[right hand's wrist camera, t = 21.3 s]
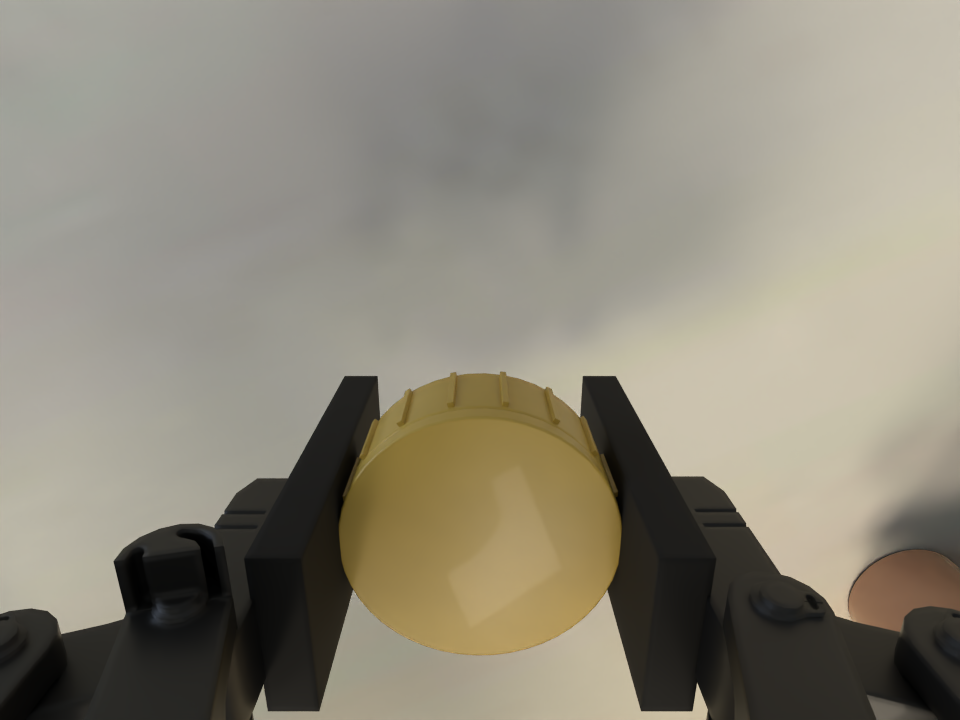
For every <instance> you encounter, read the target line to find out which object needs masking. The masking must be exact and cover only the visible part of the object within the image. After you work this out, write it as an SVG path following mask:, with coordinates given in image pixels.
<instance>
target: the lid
mask: <svg viewBox="0 0 960 720" xmlns="http://www.w3.org/2000/svg"><path fill="white" fill-rule="evenodd" d="M616 497H618V490H617V488H616V485H615V483H614V480H613V477H612V475H611V472H610V469H609V467H608V464H607V462H606V459H605V456H604V454H599V452H598V449H597V447H596V444H595V442H594V439H593V437H592V434H591V431H590V429H589V426H588V423H587V420H586V419H585V417H584V416H582V417H580V418H579V417H578V415H577V414H576V413H575V412H574V411H573V410H572V409H571V408H570V407H569V406H568V405H566V404H565V403H564V402H563V401H562V400H560V399H559V398H558V397H556V396H555V395H553V392H552V389H550V388H549V387H546V389H543V388H541V387H539V386H537V385H535V384H532V383H529V382H526V381H524V380H521V379H518V378H513V377H509V376H506V372H500V375H496V374H486V373H483V374H464V375H457V374H456V372H454V373H450V377H447V378H444V379H440V380H436V381H434V382H431V383H429V384H426V385H424V386H422V387H419V388H418V389H416V390H414V391H411V389H408V390H407V391H405V395H404V397H403V398H402V399H400V400H399V401H398V402H396V403H395V404H394V405H393V406H392V407H391V408H390V409H389V410H388V411H387V412H386V413H385V414H384V415H383V416H382V417H381V418H380V420H379V421H378V420H376V419H374V421H373V422H372V424H371V427H370V430H369V432H368V435H367V438H366V440H365V443H364V446H363V448H362V451H361V454H360V457H359V458H358V457H357V459H356V462H355V464H354V467H353V470H352V472H351V475H350V478H349V480H348V483H347V486H346V488H345V491H344V494H343V501H344V503H343V505H342V508H341V513H340V519H339V539H340V550H341V560H342V564H343V568H344V571H345V574H346V576H347V578H348V580H349V582H350V585H351V586H352V588H353V590H354V591H355V593H356V594H357V596H358V597H359V599H360V600H361V601H362V603H363V604H364V605H365V606H366V607H367V608H368V610H369V611H370V612H371V613H372V614H373V615H375V616H376V617H377V618H378V619H379V620H380V621H381V622H382V623H384V624H385V625H387V626H388V627H389V628H391V629H392V630H394V631H395V632H397V633H399V634H400V635H402V636H404V637H406V638H408V639H409V640H412V641H414V642H417V643H419V644H421V645H424V646H427V647H430V648H434V649H437V650H440V651H445V652H451V653H456V654H466V655H496V654H504V653H511V652H515V651H520V650H524V649H528V648H530V647H533V646H536V645H539V644H542V643H544V642H546V641H548V640H551V639H553V638H555V637H557V636H559V635H560V634H562V633H564V632H565V631H567V630H568V629H570V628H572V627H573V626H574V625H575V624H577V623H578V622H579V621H580V620H582V619H583V618H584V617H585V616H586V615H587V614H588V613H589V612H590V611H591V610H592V609H593V608H594V607H595V606H596V605H597V603H598V602H599V601H600V599H601V598H602V597H603V595H604V594H605V592H606V591H607V589H608V587H609V585H610V583H611V582H612V580H613V577H614V575H615V572H616V569H617V567H618V563H619V554H620V544H621V532H622V520H621V515H620V511H619V507H618V503H617V500H616Z"/></svg>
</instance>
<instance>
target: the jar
mask: <svg viewBox="0 0 960 720" xmlns="http://www.w3.org/2000/svg"><path fill="white" fill-rule="evenodd" d="M848 606H849V613H850V616H851V619H852V621H854V622H858V623H862V624H867V625H871V626H876V627H880V628H885V629H889V630H894V631H898V632H900V630H901V627H902V623H903V620H904V617H905V616H906V615H907V614H908V613H909V612H910V611H912V610H913V609H915V608H921V607H927V606H934V607H942V608H950V609H954V610H957V611H960V568H959V567H958V566H957V565H956V564H954V563H953V562H952V561H951V560H950V559H948V558H947V557H945V556H943V555H941V554H939V553H936V552H933V551H929V550H920V549H916V550H906V551H901V552H897V553H894V554H891V555H888V556H886V557H884V558H882V559H880V560H879V561H877V562H875V563H874V564H873V565H871V566H870V567H869V568H868V569H866V570H865V571H864V572H863V573H862V574H861V576H860V577H859V578H858V579H857V581H856V582H855V584H854V586H853V588H852V590H851V593H850V597H849V605H848Z"/></svg>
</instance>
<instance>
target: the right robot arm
mask: <svg viewBox="0 0 960 720" xmlns="http://www.w3.org/2000/svg"><path fill="white" fill-rule="evenodd" d="M582 416H584V417H585V419H586V420H587V423H588V426H589V429H590V431H591V434H592V437H593V439H594V442H595V444H596V447H597V449H598V452H599V454H604V456H605V459H606V462H607V464H608V467H609V469H610V472H611V475H612V477H613V480H614V483H615V485H616V488H617V490H618V497H616V500H617V503H618V507H619V511H620V515H621V520H622V532H621V544H620V554H619V563H618V567H617V569H616V572H615V575H614V577H613V580H612V582H611V583H610V585H609V587H608V589H607V590H608V593H609V597H610V601H611V604H612V608H613V611H614V615H615V619H616V622H617V626H618V629H619V633H620V637H621V640H622V644H623V647H624V651H625V655H626V658H627V662H628V665H629V669H630V673H631V676H632V680H633V683H634V687H635V691H636V694H637V698H638V701H639V705H640V709H641V711H693V704H694V698H695V692H696V685H697V683H698V685H699V688H700V690H701V693H702V696H703V698H704V701H705V703H706V706H707V708H708V713H707V719H706V720H960V611H957V610H954V609H950V608H942V607H934V606H927V607H921V608H915V609H913V610H912V611H910V612H909V613H908V614H907V615H906V616H905V617H904V620H903V623H902V627H901V630H900V632H898V631H894V630H889V629H885V628H880V627H876V626H871V625H867V624H862V623H858V622H854V621H850V620H847V619H843V618H840V617H836V616H835V614H834V612H833V610H832V609H831V607H830V606H829V604H828V603H827V601H826V600H825V599H824V598H823V597H822V596H821V595H819V594H818V593H817V592H816V591H814V590H813V589H812V588H811V587H809V586H807V585H805V584H803V583H801V582H799V581H797V580H795V579H793V578H791V577H788V576H784V575H781V574H780V573H779V571H778V570H777V568H776V567H775V565H774V564H773V562H772V561H771V559H770V558H769V556H768V555H767V553H766V552H765V551H764V549H763V548H762V546H761V545H760V543H759V542H758V540H757V539H756V537H755V536H754V534H753V533H752V531H751V530H750V528H749V527H746V523H745V521H744V520H743V518H742V517H741V515H740V514H739V512H736V508H735V506H734V505H733V503H732V502H731V500H730V499H729V498H728V496H727V495H726V493H725V492H724V491H723V490H722V489H720V488H719V487H717V486H716V485H714V484H713V483H712V482H710V481H709V480H707V479H706V478H705V477H671V475H670V473H669V472H668V470H667V468H666V466H665V464H664V463H663V461H662V459H661V457H660V455H659V454H658V452H657V450H656V448H655V446H654V445H653V443H652V441H651V439H650V437H649V436H648V434H647V432H646V430H645V428H644V427H643V425H642V423H641V421H640V419H639V418H638V416H637V414H636V412H635V410H634V409H633V407H632V405H631V403H630V401H629V400H628V398H627V396H626V394H625V392H624V390H623V389H622V387H621V385H620V383H619V381H618V380H617V378H616V376H583V383H582V400H581V416H580V417H582ZM374 419H376V420H378V421H379V420H380V410H379V393H378V377H377V376H345V377H344V379H343V380H342V382H341V384H340V386H339V388H338V389H337V391H336V393H335V395H334V397H333V398H332V400H331V402H330V404H329V406H328V407H327V409H326V411H325V413H324V415H323V416H322V418H321V420H320V422H319V424H318V425H317V427H316V429H315V431H314V433H313V435H312V436H311V438H310V440H309V442H308V444H307V445H306V447H305V449H304V451H303V453H302V454H301V456H300V458H299V460H298V462H297V463H296V465H295V467H294V469H293V471H292V472H291V474H290V476H289V478H272V479H256V480H255V481H253V482H252V483H250V484H249V485H248V486H246V487H245V488H243V489H242V490H240V491H239V492H238V493H236V495H235V496H234V498H233V499H232V501H231V502H230V504H229V505H228V507H227V508H226V509H225V513H224V514H222V515H221V517H220V518H219V520H218V521H217V523H216V524H215V528H214V527H210V526H206V525H202V524H179V525H174V526H170V527H166V528H161V529H158V530H156V531H153V532H151V533H149V534H146V535H144V536H142V537H139V538H138V539H137V540H135V541H134V542H132V543H131V544H129V545H128V546H127V547H125V548H124V549H123V550H122V551H121V552H120V554H119V555H118V556H117V558H116V559H115V560H114V565H115V569H116V573H117V577H118V582H119V586H120V590H121V594H122V598H123V602H124V606H125V610H126V615H125V617H124V619H123V620H119V621H116V622H112V623H109V624H105V625H101V626H96V627H92V628H87V629H83V630H78V631H74V632H69V633H65V634H61V632H60V628H59V625H58V622H57V619H56V618H55V617H54V616H52V615H51V614H50V613H49V612H48V611H43V610H37V609H24V610H16V611H9V612H6V613H3V614H0V720H254V719H253V713H252V712H253V710H254V707H255V705H256V702H257V700H258V697H259V695H260V692H261V689H262V687H263V684H264V689H265V696H266V702H267V708H268V711H319V710H320V706H321V703H322V699H323V696H324V692H325V688H326V685H327V681H328V678H329V674H330V670H331V667H332V663H333V660H334V656H335V652H336V649H337V645H338V642H339V638H340V634H341V631H342V627H343V624H344V620H345V616H346V613H347V609H348V606H349V602H350V598H351V595H352V591H353V588H352V586H351V585H350V582H349V580H348V578H347V576H346V574H345V571H344V568H343V564H342V560H341V550H340V539H339V519H340V513H341V508H342V505H343V503H344V501H343V494H344V491H345V488H346V486H347V483H348V480H349V478H350V475H351V472H352V470H353V467H354V464H355V462H356V459H357V457H358V458H359V457H360V454H361V451H362V448H363V446H364V443H365V440H366V438H367V435H368V432H369V430H370V427H371V424H372V422H373V421H374Z"/></svg>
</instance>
